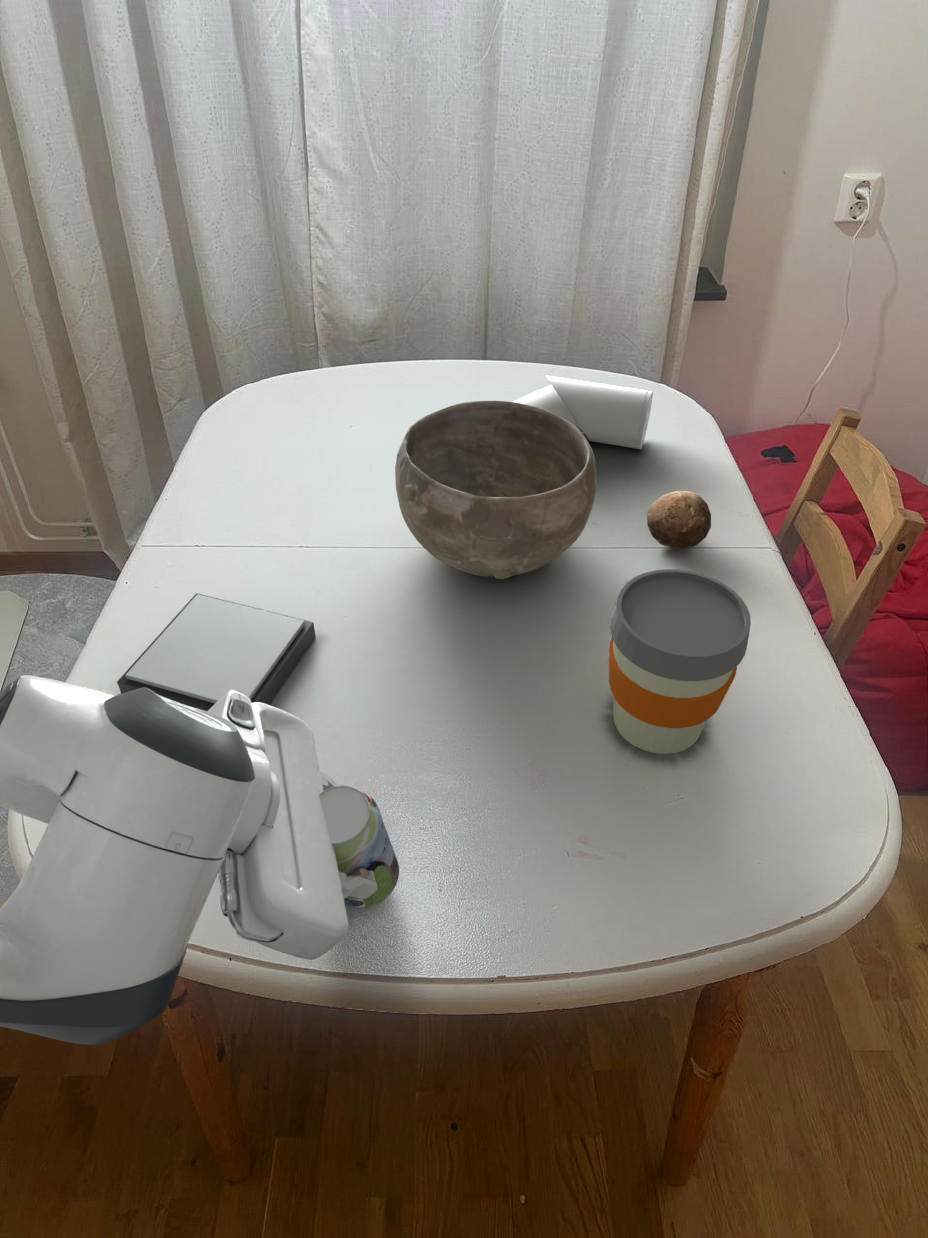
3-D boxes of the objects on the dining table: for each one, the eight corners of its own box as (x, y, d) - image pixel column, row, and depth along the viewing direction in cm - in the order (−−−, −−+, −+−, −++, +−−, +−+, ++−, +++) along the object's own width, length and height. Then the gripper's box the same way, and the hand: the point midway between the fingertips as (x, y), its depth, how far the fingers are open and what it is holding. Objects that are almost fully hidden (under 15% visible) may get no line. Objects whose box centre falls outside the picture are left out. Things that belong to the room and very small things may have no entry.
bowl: (479, 639, 96) (481, 531, 86) (358, 539, 110) (348, 436, 100) (625, 555, 108) (642, 452, 98) (498, 474, 121) (502, 376, 111)
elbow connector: (577, 391, 138) (487, 432, 128) (595, 334, 129) (500, 373, 119) (658, 454, 131) (570, 503, 121) (683, 398, 123) (590, 446, 113)
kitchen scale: (122, 698, 89) (114, 678, 87) (200, 608, 100) (195, 588, 98) (248, 734, 86) (243, 715, 84) (316, 637, 96) (313, 617, 94)
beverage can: (413, 871, 74) (407, 787, 66) (363, 939, 70) (350, 857, 62) (355, 839, 77) (342, 754, 69) (303, 903, 72) (283, 819, 64)
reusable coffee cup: (626, 781, 82) (649, 671, 72) (577, 689, 91) (592, 580, 80) (742, 752, 84) (781, 643, 74) (683, 665, 93) (711, 557, 83)
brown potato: (664, 487, 113) (677, 470, 107) (713, 522, 113) (729, 508, 106) (629, 533, 112) (640, 518, 106) (679, 569, 111) (692, 557, 105)
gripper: (254, 906, 52) (417, 944, 60) (231, 673, 67) (364, 730, 75) (194, 959, 54) (360, 989, 62) (185, 723, 69) (320, 772, 77)
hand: (362, 846), depth 69 cm, fingers open, 6 cm apart
